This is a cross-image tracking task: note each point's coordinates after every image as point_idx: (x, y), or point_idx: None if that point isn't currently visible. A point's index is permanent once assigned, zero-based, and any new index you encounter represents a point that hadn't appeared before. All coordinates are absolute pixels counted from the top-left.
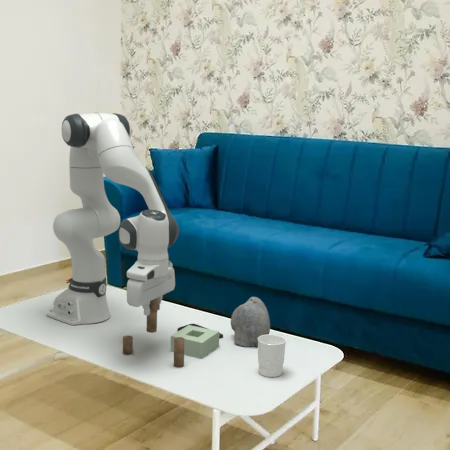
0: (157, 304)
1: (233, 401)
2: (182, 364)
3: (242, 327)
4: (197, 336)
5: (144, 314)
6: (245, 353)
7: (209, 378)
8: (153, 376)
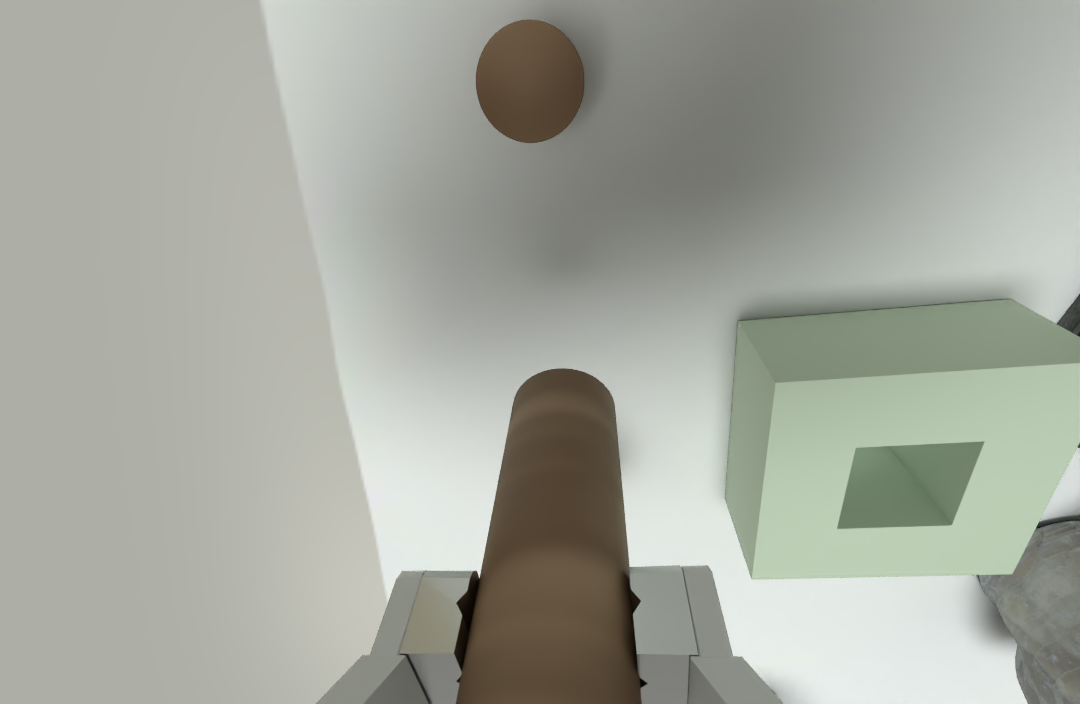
0: (691, 701)
1: None
2: None
3: (1075, 682)
4: (941, 447)
5: (404, 576)
6: (888, 601)
7: None
8: (397, 434)
